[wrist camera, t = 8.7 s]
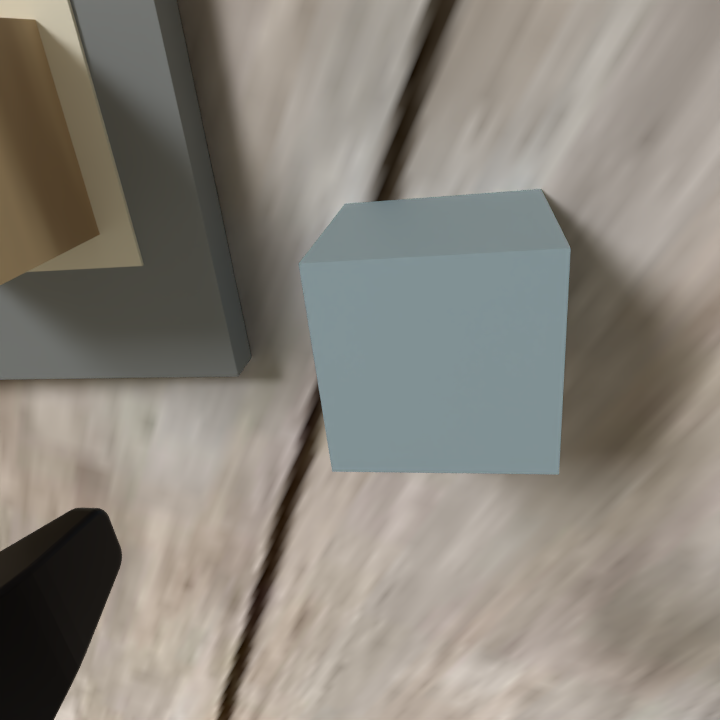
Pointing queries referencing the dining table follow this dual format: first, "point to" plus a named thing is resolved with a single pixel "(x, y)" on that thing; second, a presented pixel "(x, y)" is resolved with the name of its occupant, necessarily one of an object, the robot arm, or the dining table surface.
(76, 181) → the oak block
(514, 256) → the blue block
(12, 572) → the robot arm
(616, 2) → the dining table surface
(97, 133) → the board
